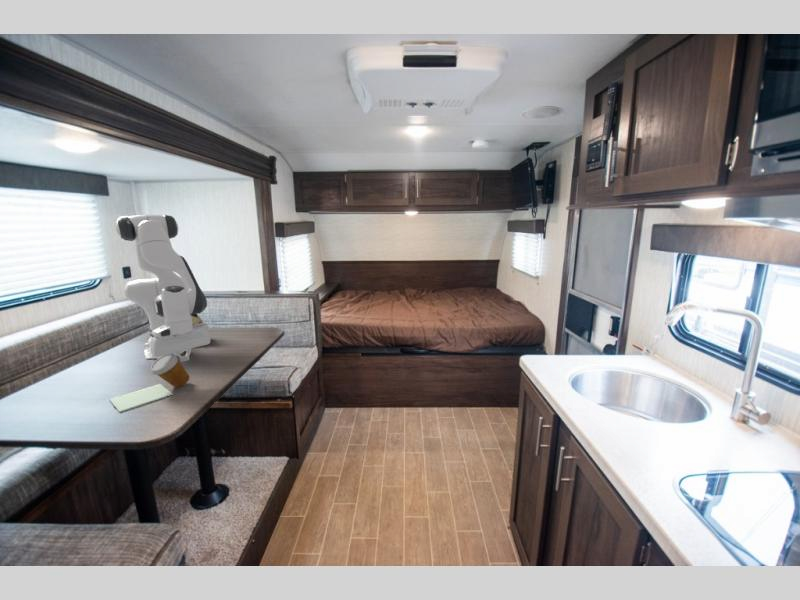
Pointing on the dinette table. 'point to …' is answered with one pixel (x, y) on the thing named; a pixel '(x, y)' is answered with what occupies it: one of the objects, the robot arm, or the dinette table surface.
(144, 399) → the mat
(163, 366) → the disposable coffee cup
